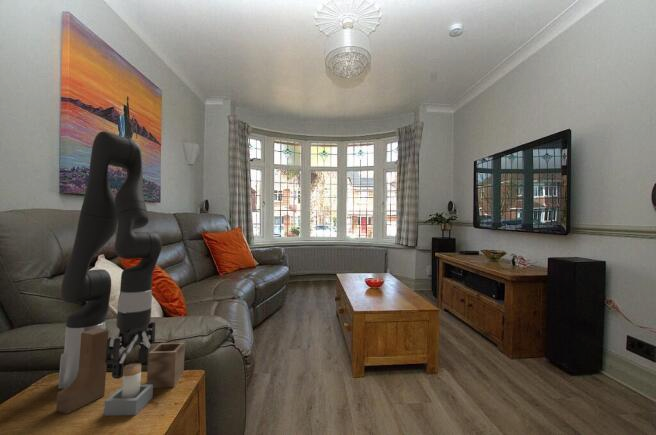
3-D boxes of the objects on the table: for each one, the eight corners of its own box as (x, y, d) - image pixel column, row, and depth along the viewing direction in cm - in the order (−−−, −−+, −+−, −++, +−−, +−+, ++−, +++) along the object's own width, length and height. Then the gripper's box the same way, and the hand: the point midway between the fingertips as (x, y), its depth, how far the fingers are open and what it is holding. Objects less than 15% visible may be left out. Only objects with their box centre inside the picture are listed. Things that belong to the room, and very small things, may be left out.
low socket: (103, 415, 71) (104, 400, 71) (123, 397, 78) (124, 384, 78) (135, 414, 71) (136, 400, 71) (152, 397, 79) (153, 384, 79)
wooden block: (67, 414, 71) (72, 340, 72) (55, 410, 72) (60, 338, 73) (105, 395, 79) (109, 329, 80) (93, 392, 80) (98, 327, 82)
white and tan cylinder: (118, 407, 72) (121, 371, 73) (123, 399, 76) (125, 364, 76) (137, 404, 74) (139, 368, 74) (140, 396, 77) (142, 362, 78)
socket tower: (146, 388, 83) (148, 353, 84) (158, 375, 91) (159, 343, 91) (174, 386, 84) (175, 352, 85) (183, 374, 92) (185, 342, 92)
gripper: (141, 300, 83) (137, 357, 83) (98, 313, 69) (93, 382, 68) (165, 301, 83) (162, 358, 82) (127, 315, 69) (122, 385, 68)
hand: (130, 369), depth 75 cm, fingers open, 8 cm apart
